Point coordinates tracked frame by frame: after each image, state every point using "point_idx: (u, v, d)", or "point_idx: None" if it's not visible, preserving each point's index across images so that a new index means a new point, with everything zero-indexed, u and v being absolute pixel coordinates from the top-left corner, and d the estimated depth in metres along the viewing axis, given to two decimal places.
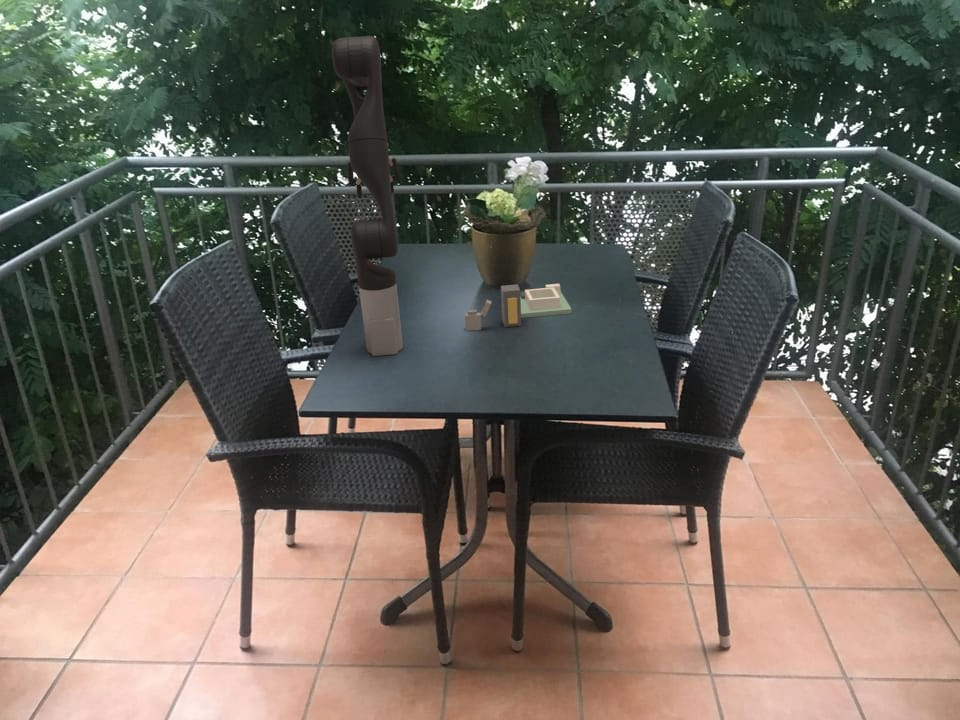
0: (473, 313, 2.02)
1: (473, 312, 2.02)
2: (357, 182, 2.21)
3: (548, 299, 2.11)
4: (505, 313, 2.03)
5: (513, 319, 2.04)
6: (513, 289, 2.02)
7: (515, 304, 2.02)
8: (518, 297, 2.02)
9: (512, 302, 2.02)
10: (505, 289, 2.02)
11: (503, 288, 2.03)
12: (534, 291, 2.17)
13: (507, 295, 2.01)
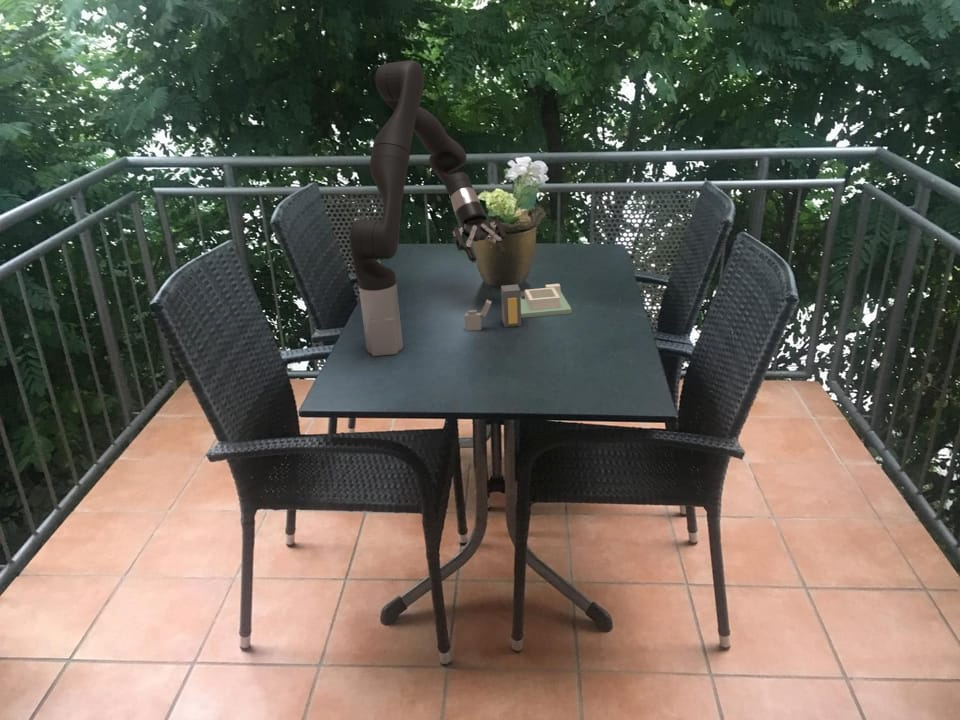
0: (473, 313, 2.02)
1: (473, 312, 2.02)
2: (468, 244, 2.09)
3: (548, 299, 2.11)
4: (505, 313, 2.03)
5: (513, 319, 2.04)
6: (513, 289, 2.02)
7: (515, 304, 2.02)
8: (518, 297, 2.02)
9: (512, 302, 2.02)
10: (505, 289, 2.02)
11: (503, 288, 2.03)
12: (534, 291, 2.17)
13: (507, 295, 2.01)
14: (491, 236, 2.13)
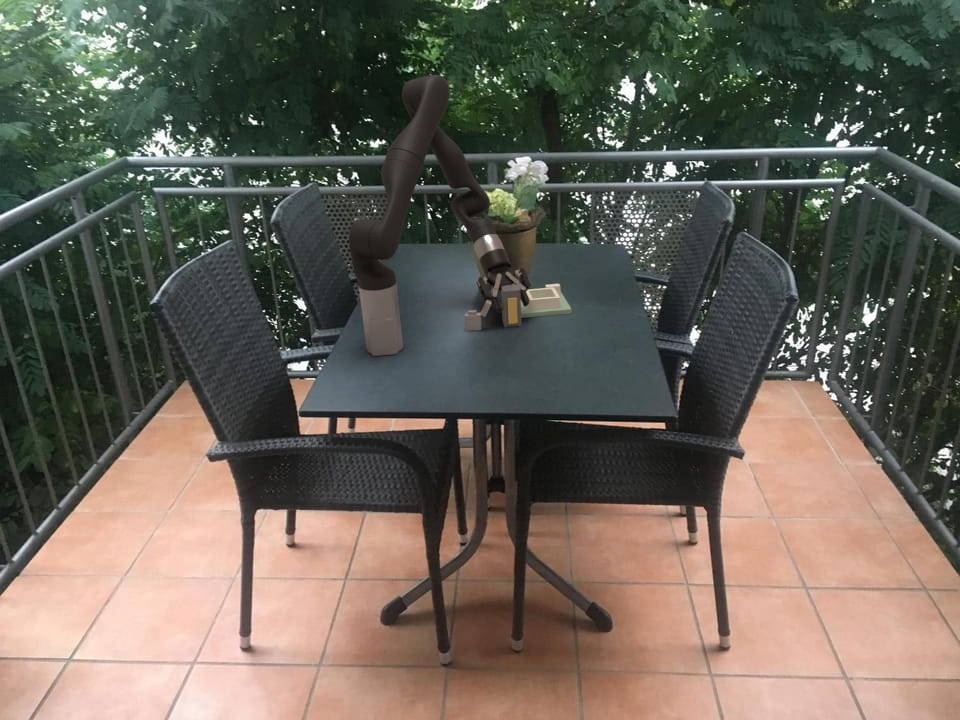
0: (473, 313, 2.02)
1: (473, 312, 2.02)
2: (494, 294, 2.02)
3: (548, 299, 2.11)
4: (505, 313, 2.03)
5: (513, 319, 2.04)
6: (513, 289, 2.02)
7: (515, 304, 2.02)
8: (518, 297, 2.02)
9: (512, 302, 2.02)
10: (505, 289, 2.02)
11: (503, 288, 2.03)
12: (534, 291, 2.17)
13: (507, 295, 2.01)
14: None
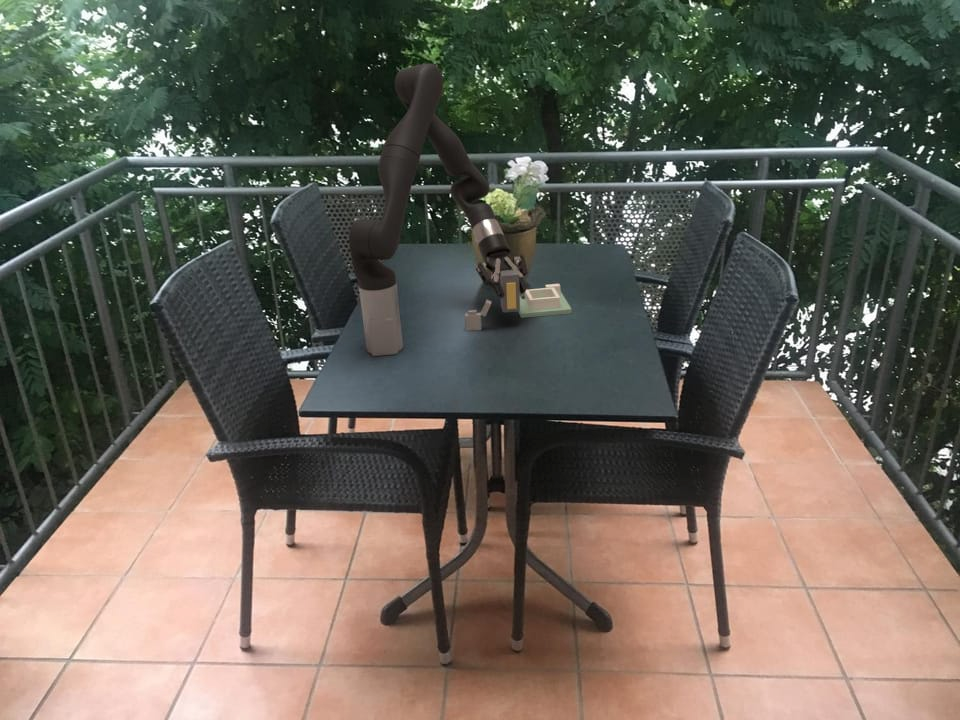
0: (473, 313, 2.02)
1: (473, 312, 2.02)
2: (496, 280, 2.01)
3: (548, 299, 2.11)
4: (504, 298, 2.01)
5: (512, 304, 2.02)
6: (512, 274, 2.00)
7: (514, 289, 2.00)
8: (517, 282, 2.00)
9: (510, 287, 2.00)
10: (504, 274, 2.00)
11: (502, 273, 2.01)
12: (534, 291, 2.17)
13: (506, 280, 1.99)
14: None
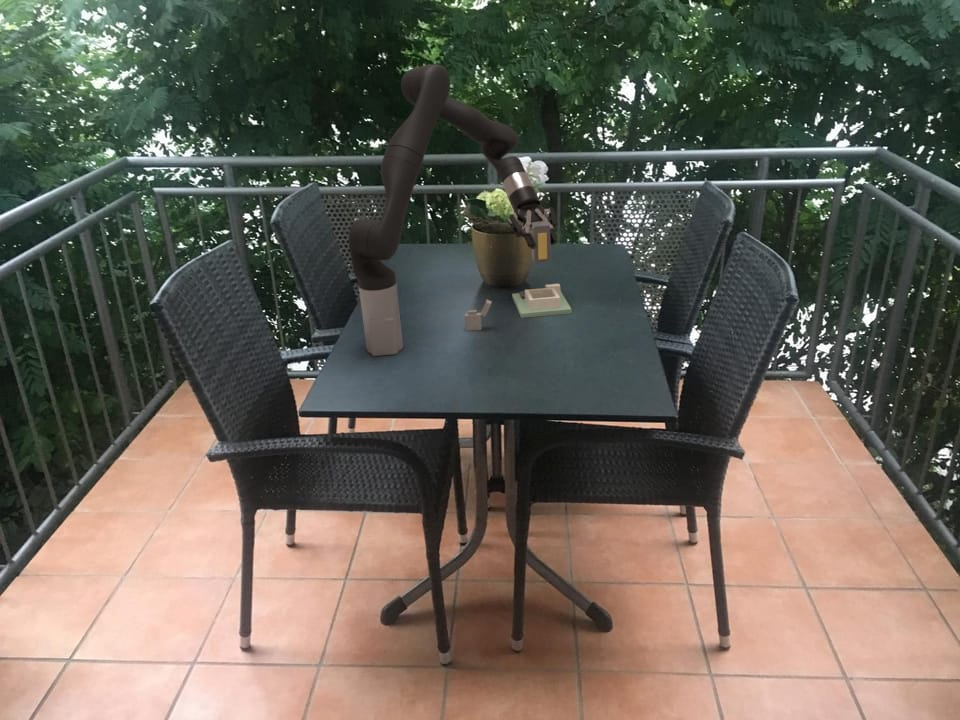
0: (473, 313, 2.02)
1: (473, 312, 2.02)
2: (527, 231, 2.06)
3: (548, 299, 2.11)
4: (535, 249, 2.06)
5: (543, 254, 2.07)
6: (543, 225, 2.05)
7: (545, 239, 2.05)
8: (548, 232, 2.05)
9: (542, 238, 2.05)
10: (535, 225, 2.05)
11: (533, 224, 2.06)
12: (534, 291, 2.17)
13: (537, 231, 2.04)
14: None
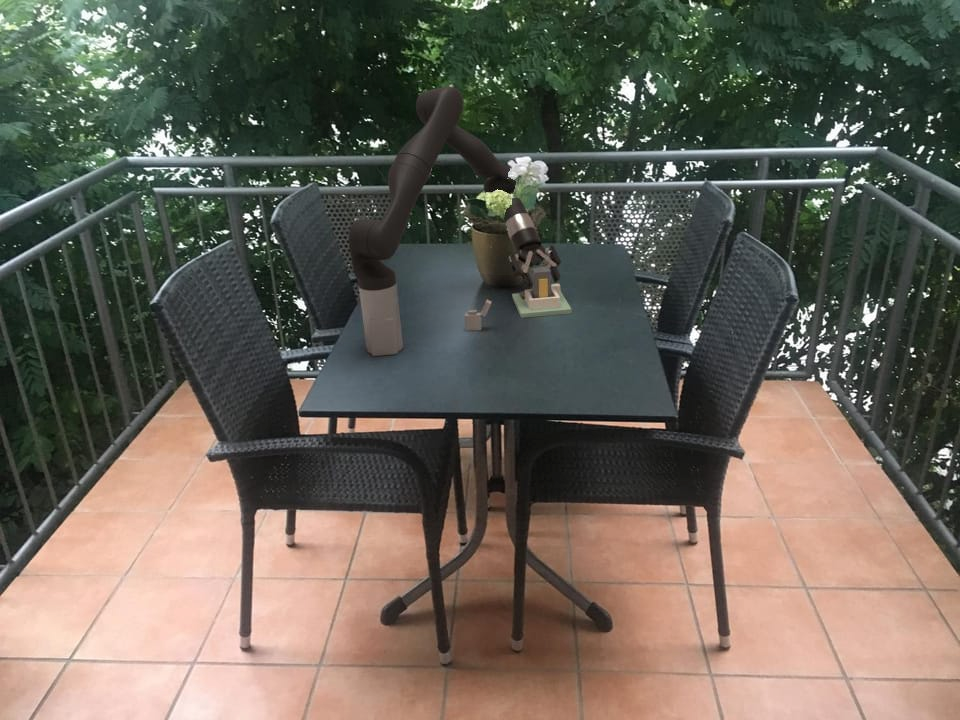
0: (473, 313, 2.02)
1: (473, 312, 2.02)
2: (524, 270, 2.10)
3: (548, 299, 2.11)
4: (536, 294, 2.12)
5: None
6: (544, 270, 2.10)
7: (546, 285, 2.10)
8: (549, 278, 2.10)
9: (543, 283, 2.10)
10: (536, 270, 2.11)
11: (534, 270, 2.11)
12: None
13: (538, 276, 2.10)
14: (546, 262, 2.14)
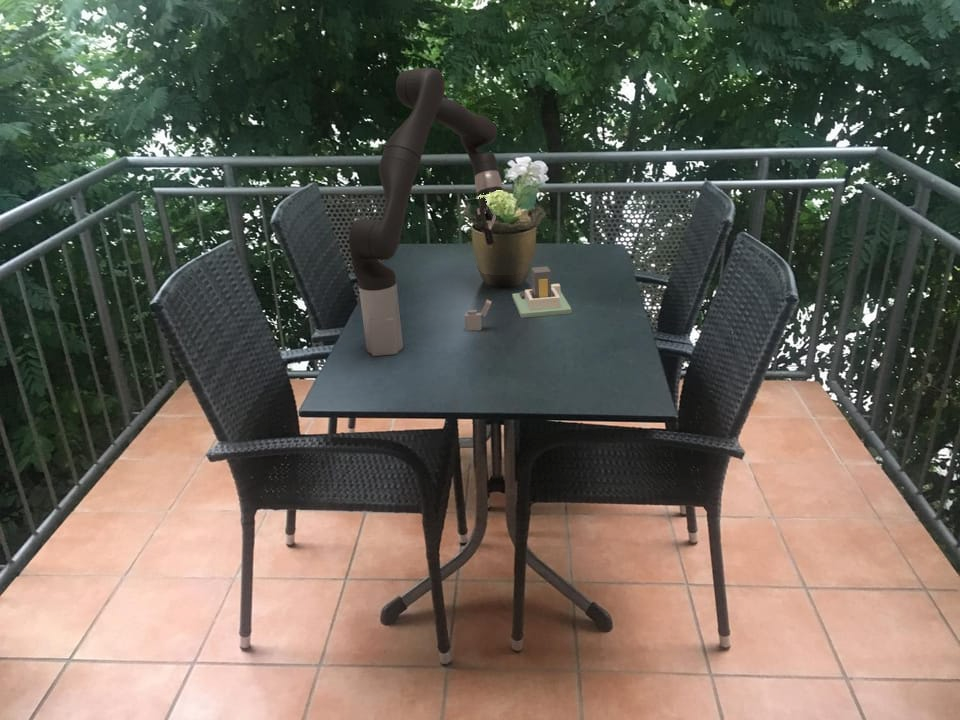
0: (473, 313, 2.02)
1: (473, 312, 2.02)
2: (489, 227, 2.16)
3: (548, 299, 2.11)
4: (536, 294, 2.12)
5: None
6: (544, 271, 2.10)
7: (546, 285, 2.10)
8: (549, 278, 2.10)
9: (543, 283, 2.10)
10: (536, 271, 2.10)
11: (534, 270, 2.11)
12: None
13: (539, 277, 2.10)
14: None
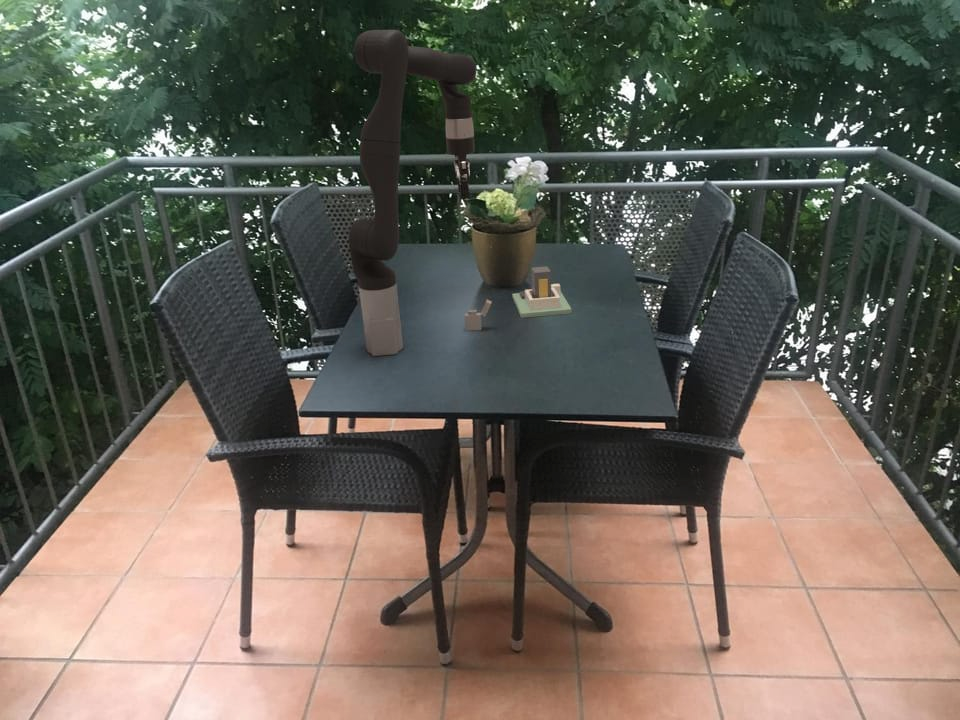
0: (473, 313, 2.02)
1: (473, 312, 2.02)
2: None
3: (548, 299, 2.11)
4: (536, 294, 2.12)
5: None
6: (544, 271, 2.10)
7: (546, 285, 2.10)
8: (549, 278, 2.10)
9: (543, 283, 2.10)
10: (536, 271, 2.10)
11: (534, 270, 2.11)
12: None
13: (539, 277, 2.10)
14: None
